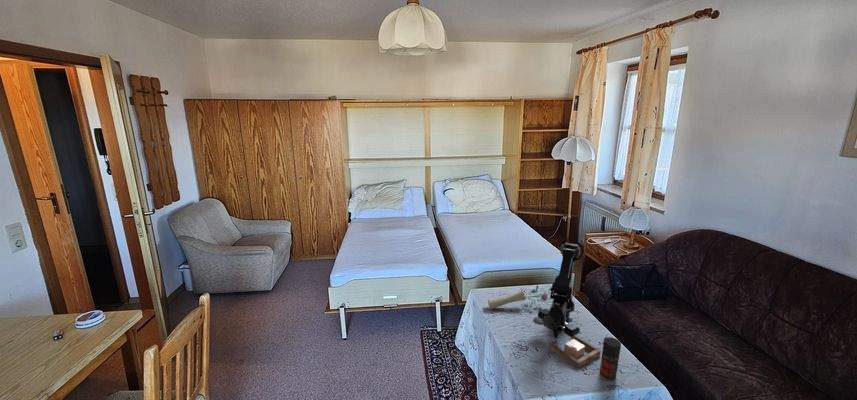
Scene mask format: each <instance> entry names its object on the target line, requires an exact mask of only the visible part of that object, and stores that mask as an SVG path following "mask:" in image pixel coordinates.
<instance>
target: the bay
mask: <svg viewBox="0 0 857 400" xmlns="http://www.w3.org/2000/svg"><path fill="white" fill-rule="evenodd" d="M572 339H574V340H576V341H578V342H579V343H581V344H583V345H585V350H588V351H589V353H587V354H585V355H584V356H583V355H582V356H581V357H579V358H577V359H575V358H574V357H572V356H571V355H569V354H567V353H566V352H564V349H561V347H558V346H556V345H555V344H553V343H551V344H550V351H552V352H553V353H555V354H556V355H558V356H560V358H562V359H564V360H565V361H567V362H568V363H570V364H571V365H573V366H574V367H575V368H576V369H579V368H581V367H583V366H584V365H586V364H588V363H590V362H591V361H593V360H595V359H597V358H598V357H600V356H601V354H602V350H601V349H599V348H598V347H596V346H594V345H592V344H591V343H590V342H588V341H586V340H584V338H583V339H582V338H581V337H580V336H578V335H577V334H576V335H574V336H573V337H570V340H572Z"/></svg>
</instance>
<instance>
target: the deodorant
mask: <svg viewBox="0 0 857 400" xmlns="http://www.w3.org/2000/svg"><path fill="white" fill-rule="evenodd" d="M621 346H622V343H621V341H620V340H618V339H617V338H614V337H611V336H610V337H609V336H608V337H605V338H604V339H603V346H602V350H601V359H600V365H599V366H600V367H599V375H600V376H601V377H602V378H603V379H605V380H608V381H615V380H616V379H615V378H617V373H618V367H619V366H618V365H619V361H620V353H621Z"/></svg>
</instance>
